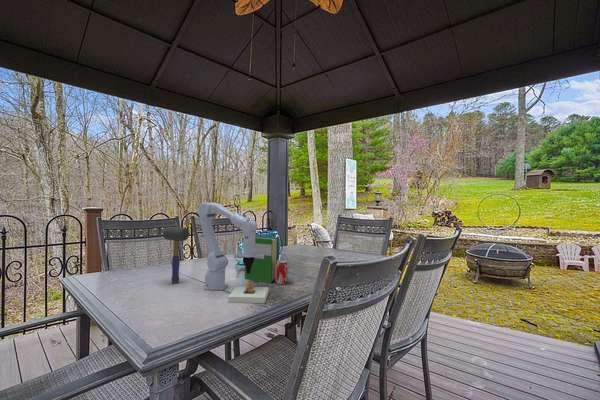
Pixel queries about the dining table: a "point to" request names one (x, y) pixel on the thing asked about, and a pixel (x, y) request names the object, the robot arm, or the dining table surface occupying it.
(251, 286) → the oak peg
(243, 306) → the dining table surface
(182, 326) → the dining table surface
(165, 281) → the dining table surface
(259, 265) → the hardback book
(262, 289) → the sage board
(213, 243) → the robot arm
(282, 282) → the soda can
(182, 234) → the rubber mallet
